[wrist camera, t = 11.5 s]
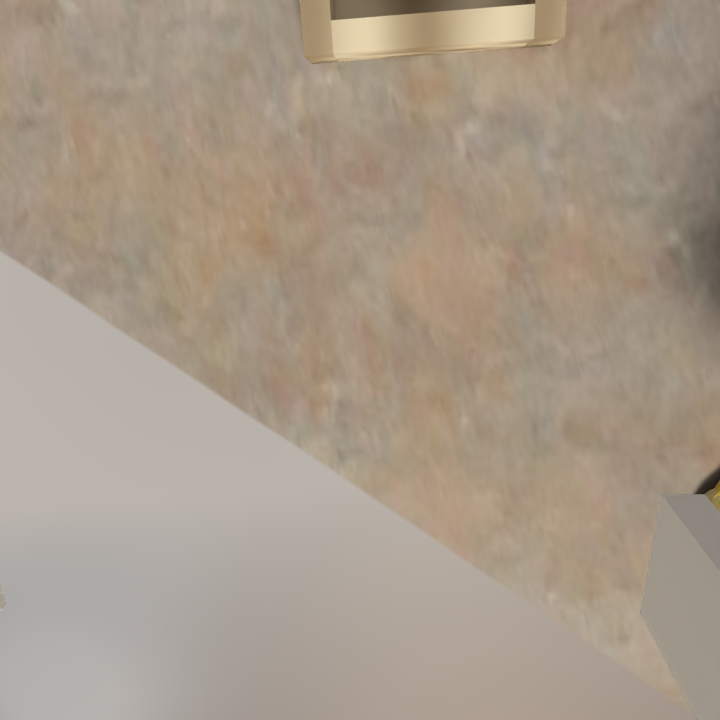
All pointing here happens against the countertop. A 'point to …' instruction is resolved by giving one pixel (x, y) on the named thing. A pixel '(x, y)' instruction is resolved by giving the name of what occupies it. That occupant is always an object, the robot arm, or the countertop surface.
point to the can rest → (425, 27)
